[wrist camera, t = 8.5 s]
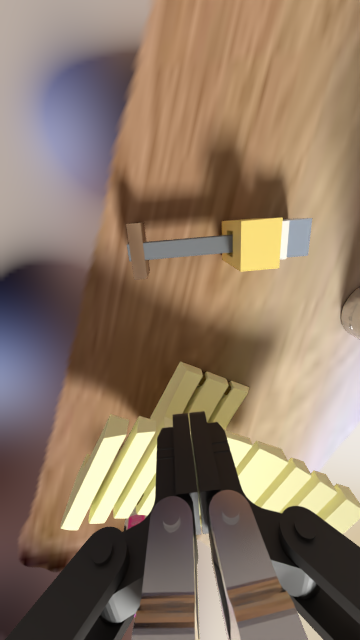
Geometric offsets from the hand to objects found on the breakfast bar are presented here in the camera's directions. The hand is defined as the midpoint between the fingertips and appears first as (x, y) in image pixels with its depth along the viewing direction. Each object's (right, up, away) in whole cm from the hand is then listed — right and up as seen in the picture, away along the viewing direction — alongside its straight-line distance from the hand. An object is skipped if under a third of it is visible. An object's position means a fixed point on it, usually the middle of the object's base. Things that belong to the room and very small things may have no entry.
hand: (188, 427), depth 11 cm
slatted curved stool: (+2, -11, +32) cm, 34 cm away
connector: (+12, +16, +21) cm, 30 cm away
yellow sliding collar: (+7, +16, +21) cm, 27 cm away
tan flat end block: (-5, +15, +21) cm, 26 cm away
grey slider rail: (+4, +14, +18) cm, 23 cm away
